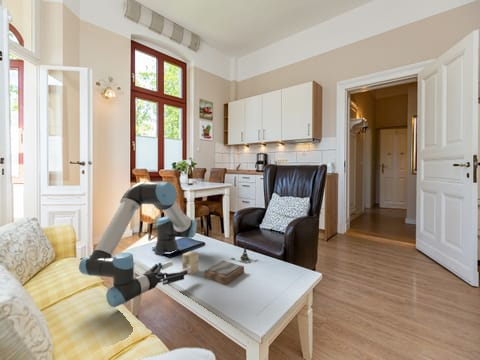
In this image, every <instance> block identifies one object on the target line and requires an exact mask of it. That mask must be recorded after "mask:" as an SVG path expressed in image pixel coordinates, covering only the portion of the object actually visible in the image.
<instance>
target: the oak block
mask: <svg viewBox="0 0 480 360" xmlns="http://www.w3.org/2000/svg"><path fill="white" fill-rule="evenodd" d="M190 266H191V272H190V273H188V274H187V275H189V276H192V275H194V274H196V273H197V272H199V252H195V251H193V250H189V251H187V252H185V253H182V270H184V269H186V268H188V267H190Z"/></svg>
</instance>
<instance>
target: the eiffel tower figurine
mask: <svg viewBox="0 0 480 360" xmlns="http://www.w3.org/2000/svg"><path fill="white" fill-rule="evenodd" d="M246 241H247V240H244V248H243V253H242V255H241V256H240V260H238V262H239V263H242V264H252V263H253V261H251V260H250V258H249V256H248V253H247V246H246V245H247V244H246V243H247V242H246ZM230 260H233V261H236V262H237V260H236V258H234V257H231V258H230ZM254 262H258V259H256V260H254Z"/></svg>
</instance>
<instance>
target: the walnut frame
mask: <svg viewBox="0 0 480 360" xmlns="http://www.w3.org/2000/svg"><path fill="white" fill-rule="evenodd" d="M244 273H245V266H244V265H241V264H237V263H234V262H230V261H227V260H221V261H219V262H218V263H216V264H214V265H213V266H211V267H209V268H207V269H205V270H204V278H205V279H208V280H211V281H213V282H217V283H219V284H222V285H224V286H228V285H229V284H230V283H232V282H233V281H235V280H236V279H238V278H239V277H240V276H242V275H243V274H244Z"/></svg>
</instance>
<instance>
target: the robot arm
mask: <svg viewBox="0 0 480 360" xmlns="http://www.w3.org/2000/svg"><path fill="white" fill-rule="evenodd" d="M177 198H178V192H177V188H176V186H175V185H174V184H173V183H172V182H167V181H139V182H136V183H135V184H134V185H132V186H131V187H129V188H128V189H127V190H126V192H124V194H123V195H122V197H121V199H120V200H119V203H120V205H119V206H118V208H117V210H116V212H115V214H114V215H113V217H112V219H111V221H110V222H109V224H108V225H107V227H106V229H105V231H104V233H103V234H102V236H101V237H100V240H99V241H98V243H97V245H96V246H95V248H94V250H93V251H92V253H91V254H90V255H85V256H84V257H83V258H81V259H80V261H79V264H78V270H79V272H80V273H81V274H83V275H87V276H91V277H92V276H95V277H104V278H111V279H112V282H113V284H112V286H111V287H110V288H108V289H107V291H106V294H105V298H106V302H107V303H108V305H109V306H110V307H112V308H117V307H119V306H121V305H124V304H125V303H127V302H130V301H131V300H133V299H135V298H136V297H139V296H141V295H142V294H145V293H146V292H149V291H151V290H153V289H155V288H156V287H157V285H158V284H160V283H162V286H165V285H167V284H170V283H174V282H178V281H183V280H185V276H187V275H189V274H188V273H190V272H191V266H190V267H188V268H186V269H184V270H183V269H182V270H180V271H179V272H171V273H168V272H162V271H163V270H166V269H168V268H170V267H172V266H174V265H173V260H172V259H171V260H170V261H167V262H164V263H161V262H159V263H155V264H154V265H153V266H152V267H150V269H148V270H146V271H145V272H144V273H142V274H140V275H138V276H135V275H134V274H135V267H134V266H135V263H134V255H133V254H132V253H131V252H119V253H116V254H115V255H114V253H115V251H116V250H117V247H118V245H119V244H120V242H121V239H122V237H123V236H124V234H125V232H126V231H127V228H128V226H129V224H130V222H131V220H132V219H133V217H134V215H135V213H136V211H138V210H139V209H141V208H140V207H141V206H142V205H154V207H155V208H156V209H157V210H159V211H162V212H163V213H164V214H165V216H163V217H160V218H158V219H157V222H156V235H157V236H156V240H157V241H156V243H155V248H154V254H155V255H158V256H164V255H163V253H165V252H172V251H175V250H177V249H178V250H179V245H178V243H177V240H176V238H187V239H191V238H194V237H195V236H196V233H197V231H198V230H197V228H198V222H197V220H196V219H191V218H190V217H189V216H188V215H186V214H185V213H184V212H183V210H182V209H181V207H180V205H179V204H178V203H177V202H176V201H177ZM113 255H114V256H113Z"/></svg>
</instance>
